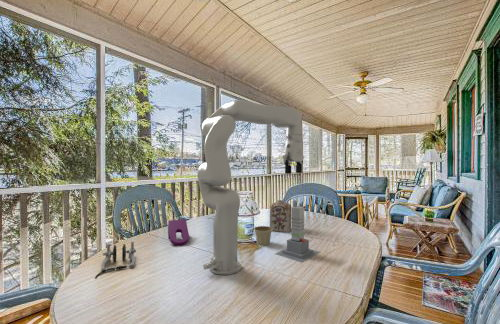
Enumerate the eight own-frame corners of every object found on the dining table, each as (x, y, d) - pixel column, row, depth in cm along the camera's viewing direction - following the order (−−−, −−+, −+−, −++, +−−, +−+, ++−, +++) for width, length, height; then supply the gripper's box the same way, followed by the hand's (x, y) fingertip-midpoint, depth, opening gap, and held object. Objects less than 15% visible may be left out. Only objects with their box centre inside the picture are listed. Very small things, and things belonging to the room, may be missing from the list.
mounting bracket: (189, 254, 133) (184, 230, 148) (190, 241, 130) (185, 219, 145) (170, 256, 130) (167, 232, 145) (170, 243, 126) (168, 220, 141)
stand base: (302, 265, 105) (302, 246, 105) (274, 256, 114) (274, 239, 114) (320, 254, 117) (320, 237, 117) (294, 247, 126) (294, 231, 126)
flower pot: (250, 246, 127) (250, 229, 127) (258, 241, 135) (258, 225, 135) (267, 250, 122) (268, 231, 122) (275, 244, 131) (275, 227, 131)
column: (299, 241, 112) (299, 208, 112) (291, 239, 115) (291, 207, 115) (304, 239, 115) (304, 207, 115) (296, 237, 118) (296, 206, 118)
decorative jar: (269, 231, 155) (269, 201, 155) (273, 226, 166) (273, 198, 166) (289, 232, 152) (289, 202, 152) (291, 227, 163) (291, 199, 163)
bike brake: (103, 257, 111) (94, 284, 93) (103, 242, 110) (94, 267, 92) (137, 253, 116) (136, 278, 98) (137, 239, 115) (136, 262, 97)
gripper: (290, 137, 118) (290, 174, 118) (309, 139, 131) (309, 173, 131) (277, 137, 123) (277, 173, 123) (296, 140, 136) (296, 172, 136)
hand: (293, 173), depth 127 cm, fingers open, 9 cm apart
